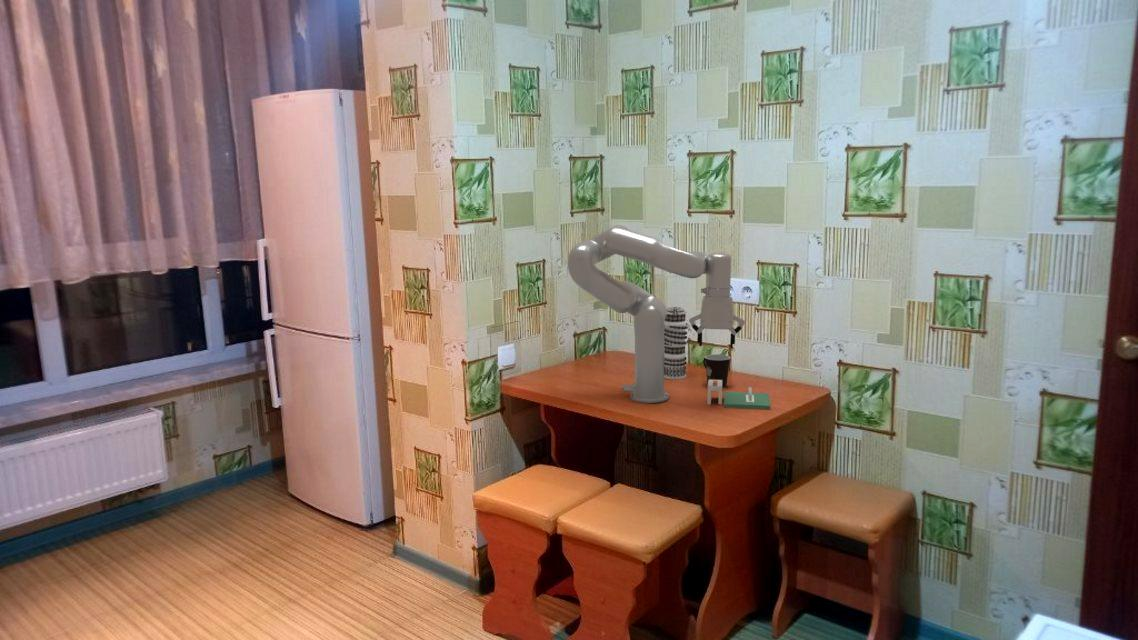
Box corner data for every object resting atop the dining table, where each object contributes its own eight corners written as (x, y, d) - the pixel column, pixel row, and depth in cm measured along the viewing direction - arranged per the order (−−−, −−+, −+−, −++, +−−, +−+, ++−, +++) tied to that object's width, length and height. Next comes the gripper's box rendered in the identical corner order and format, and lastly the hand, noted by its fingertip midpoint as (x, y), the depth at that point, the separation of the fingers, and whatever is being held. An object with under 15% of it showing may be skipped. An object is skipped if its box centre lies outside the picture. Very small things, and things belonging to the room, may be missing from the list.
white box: (707, 404, 249) (707, 385, 248) (708, 397, 257) (708, 378, 256) (721, 404, 248) (722, 386, 247) (722, 397, 256) (722, 379, 255)
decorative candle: (692, 375, 284) (693, 307, 279) (677, 380, 277) (678, 311, 273) (671, 371, 290) (672, 304, 285) (656, 376, 283) (656, 308, 279)
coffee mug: (732, 388, 266) (732, 360, 264) (706, 389, 266) (707, 360, 264) (725, 379, 278) (725, 352, 276) (700, 380, 278) (701, 352, 276)
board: (724, 407, 245) (724, 394, 245) (724, 395, 259) (724, 382, 258) (770, 409, 243) (770, 396, 242) (768, 396, 256) (768, 384, 255)
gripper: (689, 293, 244) (687, 347, 247) (746, 295, 241) (743, 349, 244) (690, 290, 251) (689, 342, 255) (745, 291, 248) (743, 344, 251)
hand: (715, 345), depth 249 cm, fingers open, 9 cm apart
